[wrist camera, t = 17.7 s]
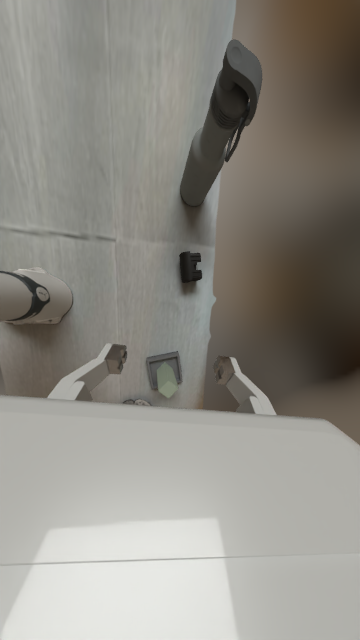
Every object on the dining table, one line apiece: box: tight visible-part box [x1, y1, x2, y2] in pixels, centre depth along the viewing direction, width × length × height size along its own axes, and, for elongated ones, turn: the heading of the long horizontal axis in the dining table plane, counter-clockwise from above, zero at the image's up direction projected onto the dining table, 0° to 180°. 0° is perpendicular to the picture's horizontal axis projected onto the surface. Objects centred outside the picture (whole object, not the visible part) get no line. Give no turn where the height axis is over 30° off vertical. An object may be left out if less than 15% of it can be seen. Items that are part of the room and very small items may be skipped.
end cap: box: [179, 251, 202, 283], centre depth 50 cm, size 10×7×7 cm
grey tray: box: [147, 351, 182, 389], centre depth 57 cm, size 14×14×3 cm
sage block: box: [157, 362, 178, 398], centre depth 51 cm, size 5×5×13 cm
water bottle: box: [180, 40, 262, 206], centre depth 35 cm, size 10×10×28 cm
